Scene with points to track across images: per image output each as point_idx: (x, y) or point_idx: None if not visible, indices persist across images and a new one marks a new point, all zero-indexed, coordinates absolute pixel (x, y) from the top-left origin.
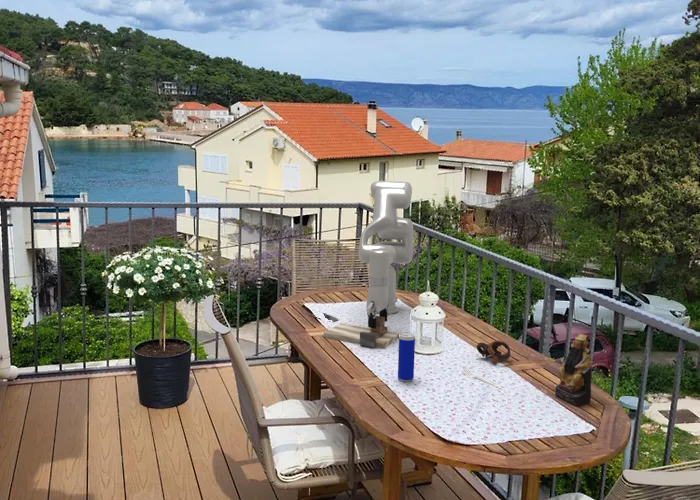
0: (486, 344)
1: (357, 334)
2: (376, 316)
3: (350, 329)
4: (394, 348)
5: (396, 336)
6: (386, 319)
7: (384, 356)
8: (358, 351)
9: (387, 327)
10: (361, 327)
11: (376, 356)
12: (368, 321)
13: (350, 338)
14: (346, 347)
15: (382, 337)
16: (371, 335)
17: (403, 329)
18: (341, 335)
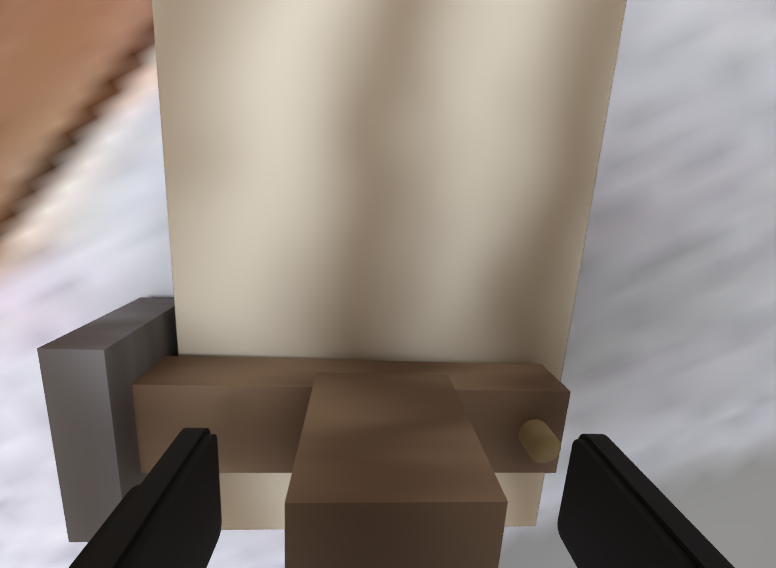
0: None
1: (313, 185)
2: (455, 541)
3: (455, 10)
4: (270, 550)
5: None
6: (579, 557)
7: (51, 563)
8: (8, 347)
9: (547, 467)
10: (588, 111)
11: (6, 518)
12: (135, 500)
13: (170, 158)
14: (27, 194)
15: None
16: (70, 500)
17: (765, 430)
18: (160, 9)
